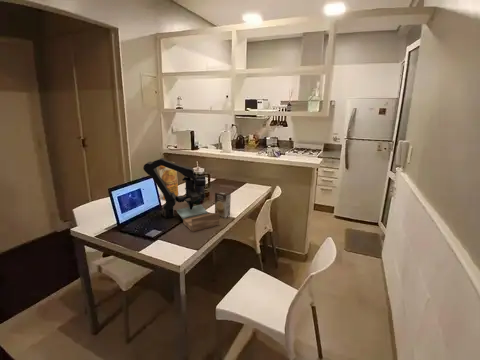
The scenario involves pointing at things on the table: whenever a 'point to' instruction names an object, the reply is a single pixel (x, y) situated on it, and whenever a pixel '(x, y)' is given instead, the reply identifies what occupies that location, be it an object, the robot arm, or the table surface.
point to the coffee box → (222, 203)
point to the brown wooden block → (201, 221)
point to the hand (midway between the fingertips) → (190, 209)
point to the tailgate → (191, 211)
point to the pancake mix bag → (169, 179)
